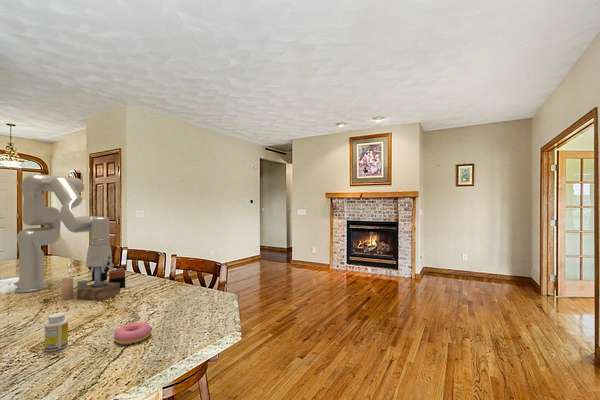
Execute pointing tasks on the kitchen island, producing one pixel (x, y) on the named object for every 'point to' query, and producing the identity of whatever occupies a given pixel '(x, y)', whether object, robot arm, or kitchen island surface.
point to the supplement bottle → (56, 332)
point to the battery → (117, 277)
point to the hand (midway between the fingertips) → (99, 280)
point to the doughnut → (132, 333)
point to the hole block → (98, 291)
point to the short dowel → (81, 283)
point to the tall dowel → (98, 277)
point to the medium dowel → (67, 288)
